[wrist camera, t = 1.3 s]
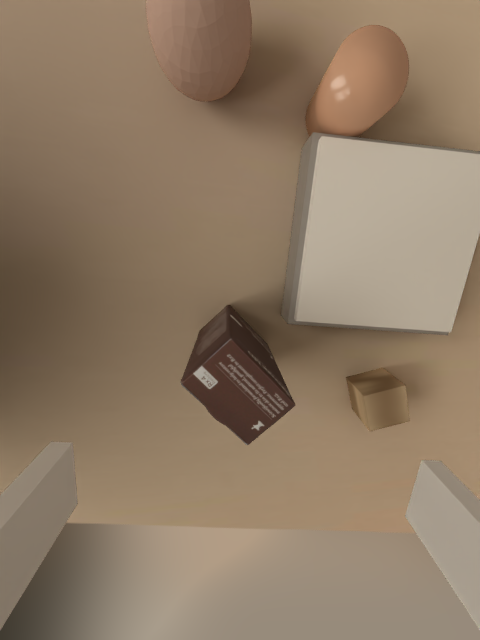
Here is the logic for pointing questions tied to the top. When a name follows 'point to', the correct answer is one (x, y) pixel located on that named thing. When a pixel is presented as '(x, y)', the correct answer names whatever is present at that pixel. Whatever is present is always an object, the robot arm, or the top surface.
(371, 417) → the oak block
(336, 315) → the podium
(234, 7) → the egg
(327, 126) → the tan round piece
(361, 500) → the top surface
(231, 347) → the box
